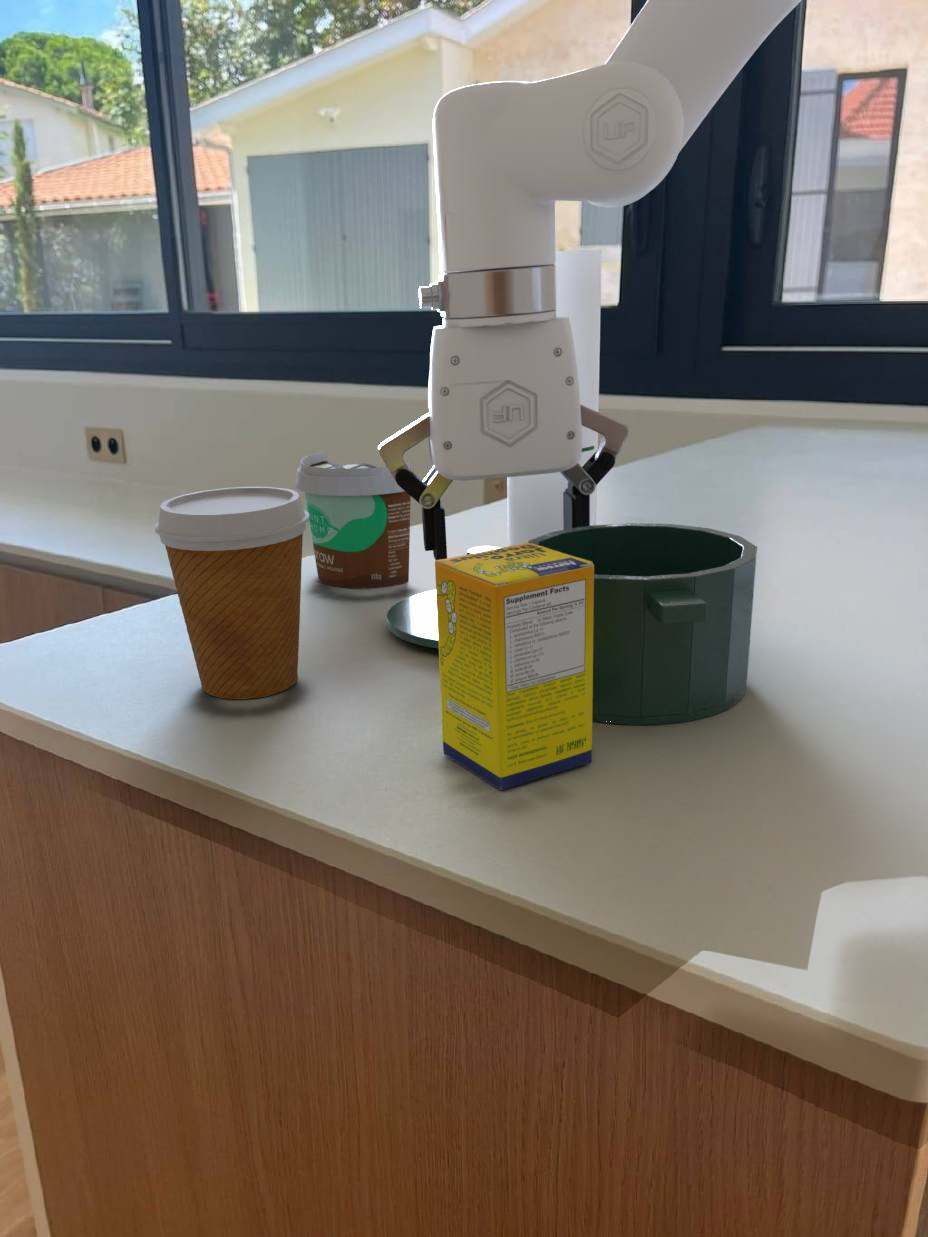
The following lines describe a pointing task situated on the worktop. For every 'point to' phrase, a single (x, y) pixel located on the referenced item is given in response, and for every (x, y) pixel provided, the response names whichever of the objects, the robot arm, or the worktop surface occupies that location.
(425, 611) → the lid
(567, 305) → the cylindrical container
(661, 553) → the pot
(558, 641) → the supplement box
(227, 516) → the disposable coffee cup
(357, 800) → the worktop surface
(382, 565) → the food container
